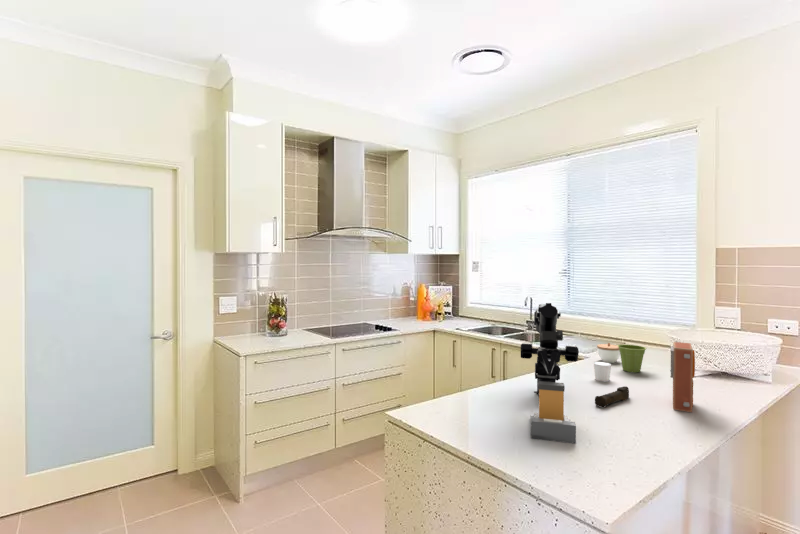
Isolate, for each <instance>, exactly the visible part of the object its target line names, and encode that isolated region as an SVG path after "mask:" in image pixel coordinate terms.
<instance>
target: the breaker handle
mask: <svg viewBox="0 0 800 534" xmlns="http://www.w3.org/2000/svg"><path fill="white" fill-rule="evenodd" d="M538 387H539V395H538V416H539V418H542V419H553V420H562V421H564V414H565V413H564V412H565V411H564V410H565V407H564V405H565V403H564V401H565V396H564V395H565V384H564V382H543V381H538Z"/></svg>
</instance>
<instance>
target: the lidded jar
mask: <svg viewBox="0 0 800 534" xmlns="http://www.w3.org/2000/svg"><path fill="white" fill-rule="evenodd" d="M596 345H597V356H598V357H599V359H600V360H601V362H606V363H610V364H613V363H614V364H615V363H616V362H617V361H618V360H619V359H620V358H621V355H620V351H619V347H618V345H617V344H611V343H610V342H607V343H602V344H601V343H600V344H596Z"/></svg>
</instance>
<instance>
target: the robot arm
mask: <svg viewBox="0 0 800 534" xmlns="http://www.w3.org/2000/svg"><path fill="white" fill-rule="evenodd" d="M561 314H562V313H561V312H560V311H559V309H557V306H556V305H555V306H554V305H553V304H552V303H551V302H546V303H541V304H538V307H537V308H536V310H535V311H534V314H533V316H534V317H533V319H534V320H533V324H534V326H535V330H536V332H537V333H539V346H537V347H533V343H525V342H523V343H521V344H520V358H521V359H531V358H532V357H533V355H537V357H536V362H534V380H536V384H537V385H536V387H537V388H536V390H535V391H533V393H534V394H535V395H538V396H539V387H538V381H543V382H556V381H559V380H560V379H561V367H560V366H559V364H558V363H560V362H561V356H564V358H565V361H567V362H578V359H579V353H580V352H579V347H578V346H577V345H565V348H564V349H562V348H558V347H559V342H560V341H561V342H562V341H563V340H564V337H563V336H564V334H563V330H559V329H558V330H557V322H558V320H559V319H560V317H561V316H562V315H561Z"/></svg>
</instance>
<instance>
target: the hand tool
mask: <svg viewBox="0 0 800 534" xmlns="http://www.w3.org/2000/svg"><path fill="white" fill-rule="evenodd" d="M629 398H630V389H629V387H628V386H626V385H625V386H621V387H617V388H616V390H615V391H612V392H609V393H607V394H606V393H605V394H601V395H596V396H595V397H594V404H595V405H596V407H599V408H605V407H607V406H608V405H611V404H613V403H617V402H619V401H623V402H624V401H627V400H628V399H629Z"/></svg>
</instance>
